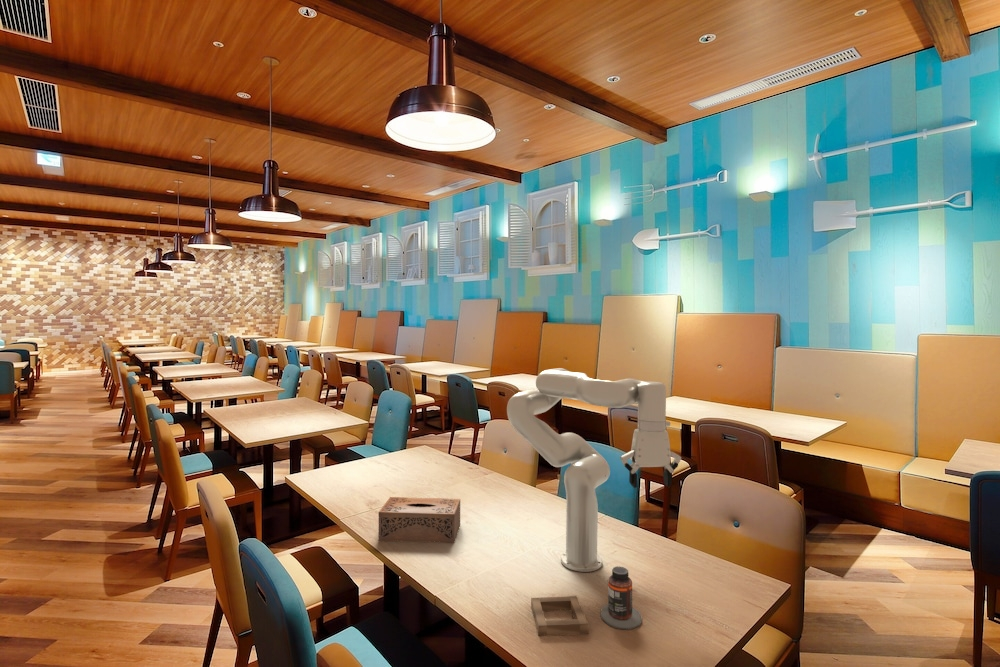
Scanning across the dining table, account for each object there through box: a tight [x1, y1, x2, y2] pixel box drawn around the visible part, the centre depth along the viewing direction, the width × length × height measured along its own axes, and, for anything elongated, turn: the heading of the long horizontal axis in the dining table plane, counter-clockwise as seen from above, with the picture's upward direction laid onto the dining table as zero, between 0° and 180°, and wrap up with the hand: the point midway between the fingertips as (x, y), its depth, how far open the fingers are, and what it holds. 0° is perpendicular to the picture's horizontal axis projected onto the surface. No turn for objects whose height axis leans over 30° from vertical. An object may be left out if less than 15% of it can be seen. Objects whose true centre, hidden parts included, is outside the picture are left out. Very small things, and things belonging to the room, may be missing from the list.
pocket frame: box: [530, 595, 589, 637], centre depth 127 cm, size 12×12×2 cm
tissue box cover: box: [378, 496, 461, 544], centre depth 177 cm, size 26×14×10 cm, turn 87°
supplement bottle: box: [607, 566, 633, 620], centre depth 128 cm, size 6×6×11 cm
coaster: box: [600, 604, 642, 630], centre depth 128 cm, size 10×10×1 cm
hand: (650, 485), depth 143 cm, fingers open, 9 cm apart
